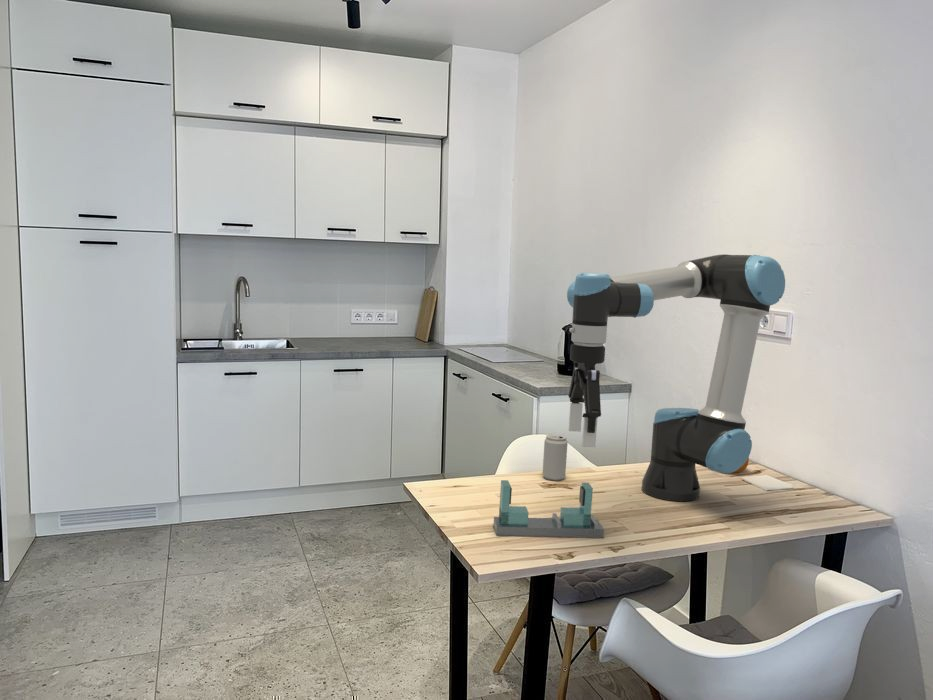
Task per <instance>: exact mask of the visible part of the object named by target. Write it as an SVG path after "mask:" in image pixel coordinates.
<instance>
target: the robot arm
mask: <svg viewBox="0 0 933 700" xmlns="http://www.w3.org/2000/svg"><path fill="white" fill-rule="evenodd" d="M785 290H786V276H785V273H784V270H783V269H782V266H781V264H780V263H779V262H778V261H777V260H776V259H774V258H772V257H770V256H765V255H758V254H757V255H756V254H752V255H750V254H726V253H725V254H715V255H711V256H706V257H701V258H696V259H692V260H686V261H682V262H680V263H679V264H677V266H673V267H667V268H660V269H652V270H648V271H640V272H634V273H629V274H621V275H615V276H610V275H609V274H608V273H599V272H598V273H596V272H579V273H578V274H577V275H576V277H575V280H574V281H573V282H571V283H570V285H569V286H568V288H567V292H566V294H567V295H566V297H567V299H566V300H567V302H568V304H569V306H571V308H572V323H571V324H572V325H571V326H572V327H570V328H569V330H568V331H569V333H571V339H570V341H571V342H573V343H572V344H570V346H569V347H570V350H569V360H570V361H572V362H573V369H572V370H573V371H572V376H571V381H570V385H569V391H568V396H567V397H568V398H569V402H570V403H569V405H570V406H569V418H568V419H569V420H568V431H569V432H581V431H582V443H581V446H582V448H596V442H597V427H598V418H600V417H601V416H602V408H601V389H600V385H601V384H600V375H601V372H600V370H596V365H597V364H598V365H600V364H602V363H604V362H605V358H606V357H605V356H606V346H604V345H605V344H606V343H607V335H608V334H607V333H608V332H607V331H608V318H612V317H614V318H615V317H617V318H618V317H620V318H639V317H642V318H643V317H645V316H648V315H649V314H650V312H652V310H653V307H654V301H658V300H659V301H661V300H664V299H671V298H675V297H683V298H685V299H693V298H705V299H706V298H707V299H714V300H720V301H719V307H720V308H721V310H722V311H723V319H722V324H721V329H720V334H719V337H718V338H719V339H718V343H717V344H718V345H717V348H716V352H715V357H714V363H713V369H712V373H711V378H710V382H709V389H708V392H707V397H706V403H705V406H704V407H703V408H701V409H700V410H699V409H696V408H692V407H691V408H688V407H665V408H664V407H663V408H659V409H658V410H656V412H655V414H654V418H653V420H654V421H653V423H652V436H651V437H652V438H651V450H650V451H651V454H650V462H649V465H648V467H647V469H646V471H645V474H644V476H643V478H642V481H641V491H642V492H644V493H645V494H646V495H649V496H651V497H654V498H656V499H661V500H666V501H671V502H672V501H673V502H690V501H692V502H693V501H695V500H697V499H699V498H700V493H701V487H700V483H699V477H698V474H697V470H696V465H699V466H701V467H704V468H707V469H708V470H710V471H713V472H719V473H721V474H733V473H732V472H734V471H736V470H738V469H739V468H740V467H741V466H743V465H744V463H745V462H746V461H747V459H748V457H749V458H750V455H751V453H752V447H753V441H752V440H753V439H751V435H750V434H749V433H748V432H747V431H746V430H745V429H746V423H747V421H746V419H745V418H744V416H743V415H742V412H743V411H742V410H743V406H744V400H745V395H746V392H747V387H748V381H749V376H750V372H751V367H752V364H753V357H754V353H755V348H756V343H757V338H758V333H759V329H760V325H761V320H762V319H763V318H764V317H765V316H767V315H769V312H770V309H771V306H773V305H776V304H777V303H779V302H780V299H782V297H783V295H784V294H785ZM583 404H584V410H585V411H584V413H583ZM582 419H583V424H582ZM582 425H583V428H582Z"/></svg>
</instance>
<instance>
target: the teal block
mask: <svg viewBox="0 0 933 700" xmlns="http://www.w3.org/2000/svg"><path fill="white" fill-rule="evenodd" d="M593 492H594V488H593V487H592V485H591V484H590V483H589V482H581V485H580V486H579V497H578V499H579V500H578V502H579V507H560V514H559V519H560V521H561V523H562V525H563V527H590V519H591V514H592V506H593V504H592V503H593Z"/></svg>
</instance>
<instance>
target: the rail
mask: <svg viewBox="0 0 933 700" xmlns="http://www.w3.org/2000/svg"><path fill="white" fill-rule="evenodd" d="M512 489H513V488H512V486H511V484H510V482H509V480H508V479H507V480H500V493H499V507H498V511H499V512H498V516H494V517H493V525H492V526H493V528H494V533H495V535H496V536H497V537H500V536H502V537H505V536H506V537H541V538H542V537H545V538H546V537H549V538H588V539H589V538H595V539H604V535H605V528H604V527H603V526H602V524H601V522H600V521H599V519H596V518H595V517H594V516H593V514H592V513H591V519H590V527H563V525H562V523H561V521H560V517H559V516H558V515H557V513H555V512H554V513H553V512H552V515H551V516H552V517H551V518H549V517H547V518H546V517H529V511H528V507H527V506H520V505H519V506H518V505H517V506H516V505H513V506H512V505H511V504H512V491H513V490H512Z"/></svg>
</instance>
